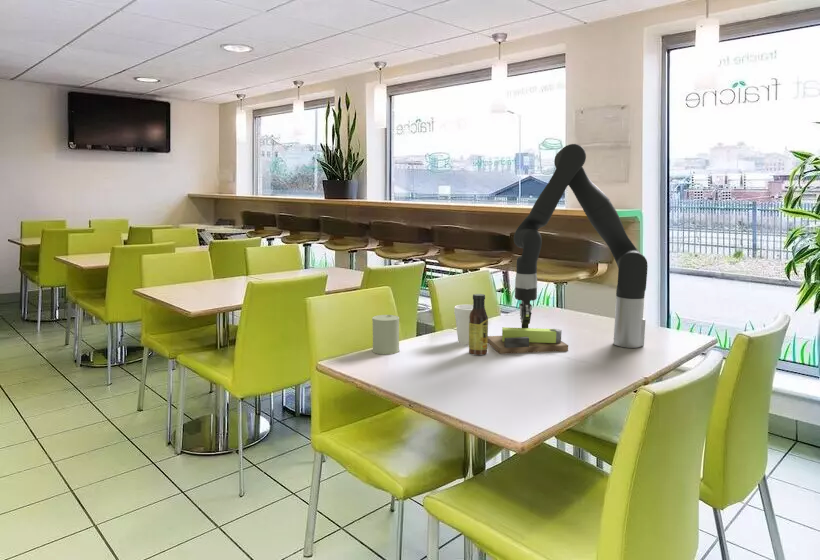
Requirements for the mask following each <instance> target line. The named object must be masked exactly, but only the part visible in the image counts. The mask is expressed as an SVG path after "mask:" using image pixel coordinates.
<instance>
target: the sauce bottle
mask: <svg viewBox="0 0 820 560" xmlns="http://www.w3.org/2000/svg"><path fill="white" fill-rule="evenodd" d="M472 300H473V302H472V305H473V309H472V311H471V313H470V316H469V318H470V322H469V345H468V352H469V354H471V355H473V356H475V355H476V356H483V355H484V356H485V355H486V354H487V352H488V345H489V344H488V336H489V335H488V334H489V317H488V314H487V312H486V305H485V300H486V294H482V293H475V294H472Z"/></svg>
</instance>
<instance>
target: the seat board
mask: <svg viewBox="0 0 820 560" xmlns="http://www.w3.org/2000/svg"><path fill="white" fill-rule="evenodd" d="M488 345H489V346H491V348H492V349H493V350H495V351H496V352H497V353H498V354H499V355H505V354H506V355H509V354H526V353H527V354H528V353H531V354H532V353H550V352H568V351H569V344H567V343H565V342H564V341H563V340H561V343H537V342H529V338H528V337H513V338H505V339H504V341H502V335H488Z"/></svg>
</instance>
